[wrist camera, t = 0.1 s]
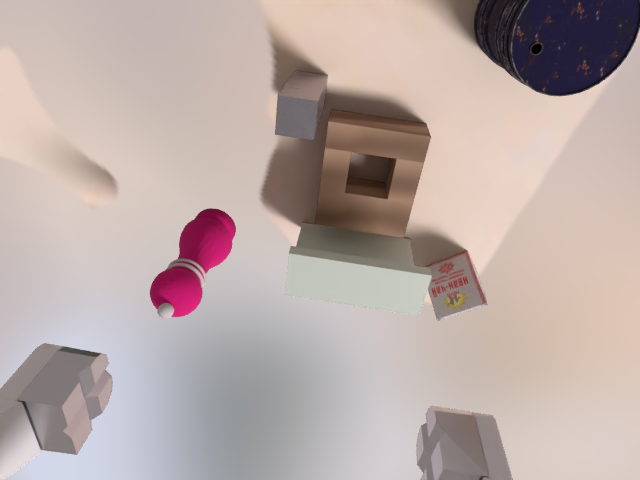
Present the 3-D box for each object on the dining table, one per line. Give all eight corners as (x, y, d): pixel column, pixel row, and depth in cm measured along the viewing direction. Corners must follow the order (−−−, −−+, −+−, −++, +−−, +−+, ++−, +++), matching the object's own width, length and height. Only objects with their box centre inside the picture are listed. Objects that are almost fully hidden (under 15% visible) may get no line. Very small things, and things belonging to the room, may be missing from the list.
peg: (295, 70, 53) (277, 95, 42) (327, 75, 52) (318, 101, 42) (292, 103, 55) (275, 134, 45) (323, 108, 55) (313, 140, 45)
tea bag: (476, 269, 65) (491, 313, 57) (433, 284, 68) (442, 329, 59) (467, 250, 64) (482, 294, 55) (424, 266, 66) (432, 310, 58)
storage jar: (563, -55, 44) (642, -64, 31) (573, 44, 48) (646, 71, 36) (463, -12, 46) (498, -5, 34) (482, 77, 51) (519, 114, 38)
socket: (331, 109, 55) (328, 121, 50) (426, 123, 54) (430, 136, 50) (318, 206, 62) (314, 224, 58) (401, 219, 62) (403, 237, 58)
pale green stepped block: (306, 192, 61) (288, 253, 48) (418, 209, 61) (432, 275, 48) (301, 228, 64) (284, 294, 51) (408, 244, 64) (418, 316, 51)
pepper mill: (182, 217, 65) (117, 304, 49) (219, 197, 63) (164, 281, 46) (212, 252, 68) (160, 346, 52) (248, 234, 66) (207, 326, 49)
